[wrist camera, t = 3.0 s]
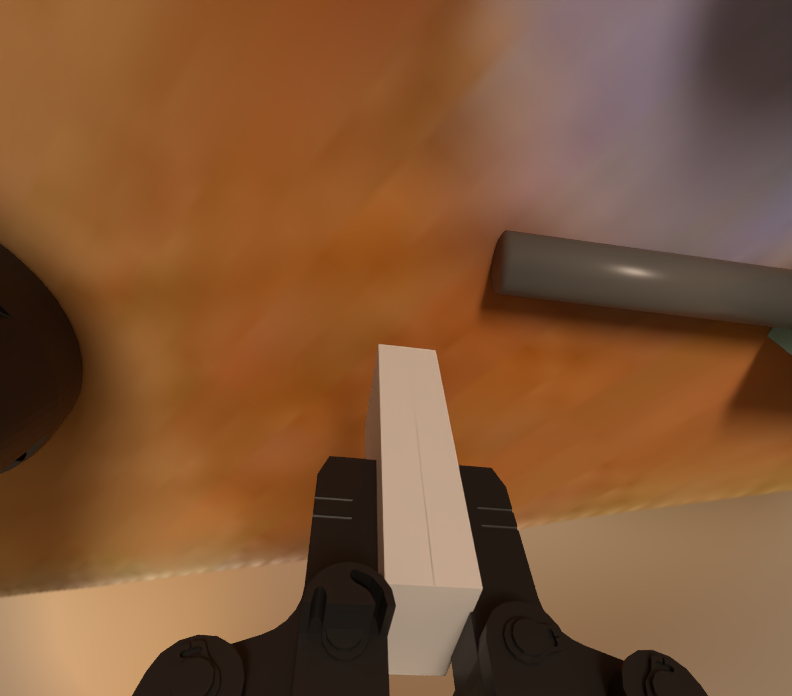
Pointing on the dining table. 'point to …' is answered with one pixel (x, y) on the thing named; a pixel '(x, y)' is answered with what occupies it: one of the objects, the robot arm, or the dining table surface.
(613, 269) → the mallet
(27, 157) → the dining table surface
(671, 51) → the dining table surface
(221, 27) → the dining table surface
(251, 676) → the robot arm
